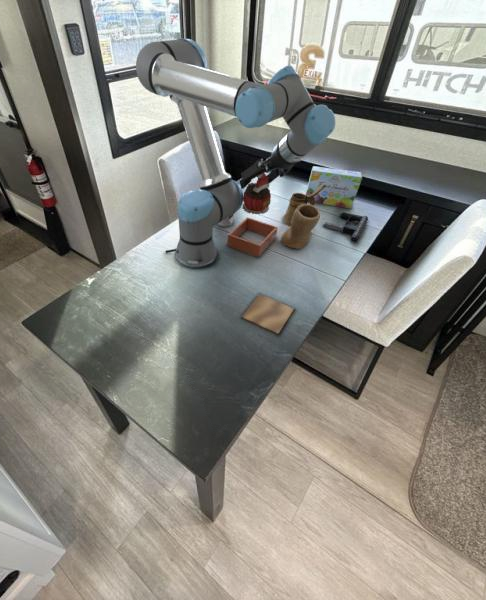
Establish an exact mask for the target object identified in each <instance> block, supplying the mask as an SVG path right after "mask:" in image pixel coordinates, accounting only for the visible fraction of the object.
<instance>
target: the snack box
mask: <svg viewBox="0 0 486 600" xmlns="http://www.w3.org/2000/svg"><path fill="white" fill-rule="evenodd" d="M308 180H309V181H308V184H307V188H306V192H305V195H306V196H311V195H312V194H313V193H314V192H315V191H316V190H317V189H318V188H319V187H320V186H322V185H324V184H325V185H326V187H325V188H324V189H323V190H322V191H321V192H319V193H318V194H317V195H316V196H314V198H315V204H319V205H327V206H333V207H337V208H338V207H339V208H345V209H351V208H352V207H353V204H354V202H355V198H356V196H357V193H358V190H359V188H360V185H361V183H362V180H363V173H362V172H361V171H351V170H344V169H337V168H332V167H331V168H329V167H323V166H316V165H313V166H312V168H311V172H310V176H309V179H308Z"/></svg>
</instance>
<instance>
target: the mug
mask: <svg viewBox="0 0 486 600" xmlns="http://www.w3.org/2000/svg"><path fill="white" fill-rule="evenodd" d="M233 220H234V214H233V215H232V216H230V217H228V218H226V219H224V220H223V221H221V222H220V223H218V224H217V225H218V226H221V227H226V228H227V227H230V226H232V225H233V223H234V222H233Z"/></svg>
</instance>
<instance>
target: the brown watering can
mask: <svg viewBox="0 0 486 600" xmlns="http://www.w3.org/2000/svg"><path fill="white" fill-rule="evenodd" d="M325 187H326V185H325V184H324V185H322V186H320V187H319V188H318V189H317V190H316V191H315V192H314V193H313V194H312V195H311V196H306V194H304V193H301V192H294V193H292V195H291V197H290V199H289V203H288V206H287V208H286V211H285V213H284V215H283V218H282V219H283V222H284V223H285V224H287V225H289V226H291V220H292V217H293V214H294V211H295V210H296V208H297V207H298V206H300V205H302V204H310V205H313V206H316V203H315V198H314V196H316V195H317V194H318V193H319V192H321V191H322V190H323V189H324V188H325Z"/></svg>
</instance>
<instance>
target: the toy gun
mask: <svg viewBox="0 0 486 600" xmlns="http://www.w3.org/2000/svg"><path fill="white" fill-rule="evenodd" d="M339 217H340V219H342V220H343V219H344V220H346V222H345V225H341V224H337V223H332V222H328V221H325V222H324V223H323V224H324V225H323V228H327V229H330V230H335V231H339V232H342V234H344V235H348V236H350V241H351V242H352V243H357V242H358V241H359V240H362V238H361V236H362V234H363V231H364V229H365V228H366V226H367V224H369V222H370V220H369V217H368V216H367V215H360V214H355V213H351V212H350V213H349V212H346V211H343V212H341V213H340V215H339ZM350 221H351V224H357V225H356V226H355V225H351V224H349V222H350Z"/></svg>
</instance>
